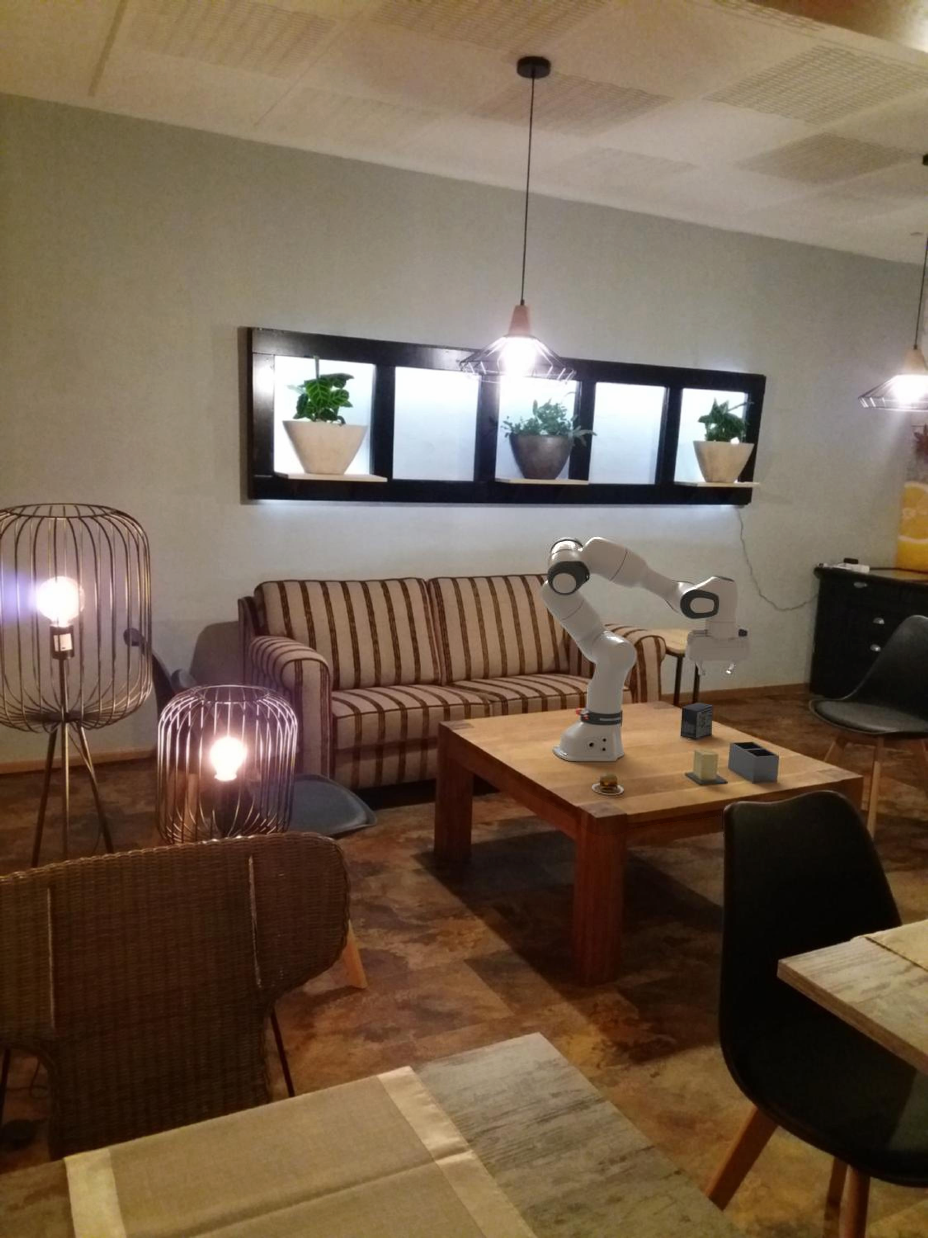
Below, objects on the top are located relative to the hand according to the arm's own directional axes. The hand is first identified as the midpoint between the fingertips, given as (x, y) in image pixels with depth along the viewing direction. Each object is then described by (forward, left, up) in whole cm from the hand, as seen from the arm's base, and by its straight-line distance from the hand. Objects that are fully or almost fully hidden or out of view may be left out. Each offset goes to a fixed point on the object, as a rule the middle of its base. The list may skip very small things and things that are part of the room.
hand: (715, 674), depth 287 cm
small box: (+12, +31, -29) cm, 44 cm away
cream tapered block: (-7, -11, -29) cm, 31 cm away
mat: (-7, -10, -29) cm, 32 cm away
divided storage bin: (+9, -9, -29) cm, 32 cm away
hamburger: (-39, -13, -30) cm, 51 cm away
